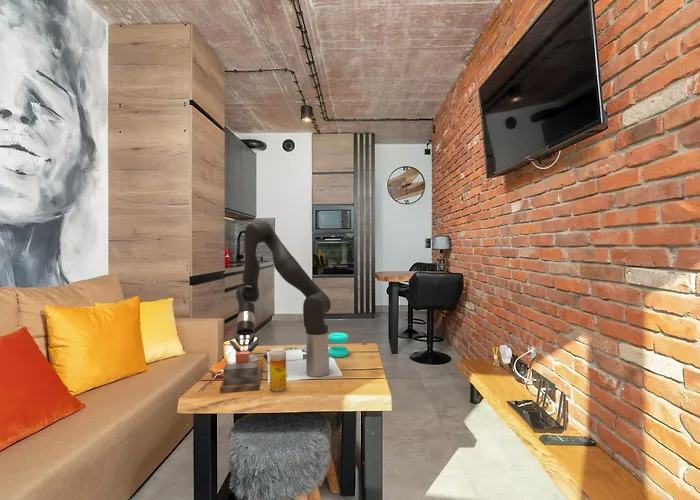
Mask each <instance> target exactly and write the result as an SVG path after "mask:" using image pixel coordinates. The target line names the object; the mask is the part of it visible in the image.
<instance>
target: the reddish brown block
mask: <svg viewBox="0 0 700 500" xmlns="http://www.w3.org/2000/svg"><path fill="white" fill-rule="evenodd" d="M244 351H245V350H244ZM235 352H236V351H235ZM236 363H251V362H250V352H249V351H245V352H236V353H235V364H236Z"/></svg>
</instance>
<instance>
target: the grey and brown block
mask: <svg viewBox="0 0 700 500" xmlns="http://www.w3.org/2000/svg"><path fill="white" fill-rule="evenodd" d="M262 374H263V366H259V364H258V362H257V361H254V362H250V363H236V362H235V363H226V364H225V365H224V367H223V380H222V382H221V385H220V387H219V394H226V393H240V392H250V391H251V392H252V391H253V392H254V391H260V389H261V382H262Z"/></svg>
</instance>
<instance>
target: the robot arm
mask: <svg viewBox="0 0 700 500" xmlns="http://www.w3.org/2000/svg"><path fill="white" fill-rule="evenodd" d="M261 243H264V244H265V245H266V246H267V247H268V249H269V250H270V253H271V255H272V260H273V261H272V263H273V266H274V268H275V270H276V271H277V273H278V274H279V276H280V277H281V278H282V279H283V280H284V281H285V282H286V283H287V284H289V285H291V286H292V287H294V288H295V289H297V290H298V291H300V292H301V293H302V294H303V296H304V297H305V298H304V301H303V305H302V313H303V326H304V328H305V354H306V355H305V358H306V359H305V360H306V361H305V362H306V368H305V370H306V372H305V373H306V375H307V376H309V377H315V378H316V377H318V378H320V377H324V376H326V375H330V355H329V351H328V350H329V340H328V335H329V327H328V324H327V323H325V319H324V318H325V317H324V315H325V314H327V313H328V312H330V309H331V306H332V304H331V300H330V298H329V297H328V295H327V293H325V292H324V291H323V290H322V289H321V288H320V287H319V286H318V285H317V284H316V283H315V282H314V280H313V279H312V278H311V277H310V276H309V275H308V273H307V272H306V271H305V270H304V269H303V267H302V266H301V265H300V264H299V262H298V261H297V259H296V258H295V257H294V256H293V255H292V254H291V253H290V251H289V250H288V249H287V247H286V246H285V244H284V243H283V242H282V241H281V240H280V238H279V236H278V234H277V233H276V232H275V230H274V229H273V227H272V226H271V224H269V223H268V221H267V222H266V221H257V222H256V221H255V222H251V223H249V224H247V225H246V226H245V228H244V264H243V265H244V267H243V274H242V279H241V280H242V283H243V284H245V286H244V285H240V286H238V287H237V288H236V291H235V295H236V300H237V304H238V316H237V323H236V333H235V336H234V337H233V339H230V340H229V344H230V346H231V345H232V346H233V347H232V346H231V347H232V349H233V350H235V352H245V351H249V353H250V352H251V353H252V352H253V351H254V350H255V349H256V348H257V347H258V345H259V344H260V343H261V340H260V338H259V337H256V335H255V324H256V319H255V311H256V307H255V304H254V303H255V302H257V301H258V300H259V298H260V290H259V276H260V269H261V268H260V265H261V264H260V261H259V259H258V256H257V247H258V244H261ZM246 285H247V286H246ZM231 340H234V341H231ZM243 340H245V341H243ZM237 344H238V345H239V346H240V347H239V346H238V345H237Z"/></svg>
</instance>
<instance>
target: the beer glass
mask: <svg viewBox="0 0 700 500" xmlns="http://www.w3.org/2000/svg"><path fill="white" fill-rule="evenodd" d="M268 357H269V389H271V391H272V392H282V391H284V390H285V389H286V388H287V351H286V348H284V347H280V346H279V347H278V346H277V347H273V348H270V351H269V356H268Z"/></svg>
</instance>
